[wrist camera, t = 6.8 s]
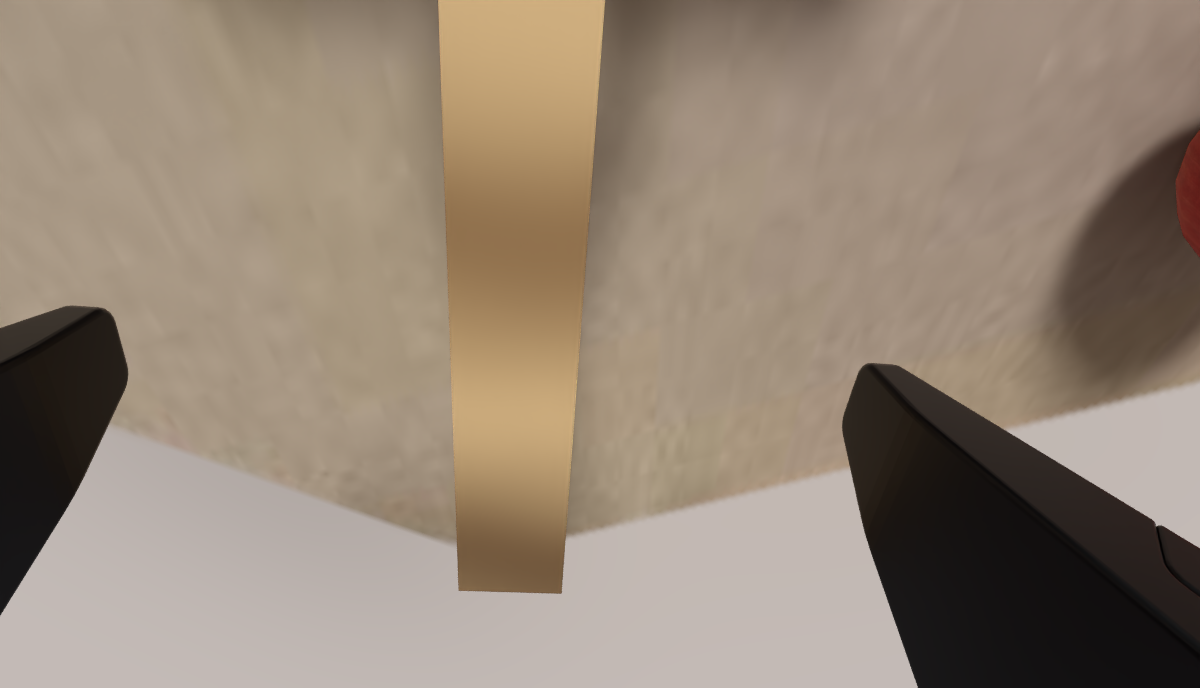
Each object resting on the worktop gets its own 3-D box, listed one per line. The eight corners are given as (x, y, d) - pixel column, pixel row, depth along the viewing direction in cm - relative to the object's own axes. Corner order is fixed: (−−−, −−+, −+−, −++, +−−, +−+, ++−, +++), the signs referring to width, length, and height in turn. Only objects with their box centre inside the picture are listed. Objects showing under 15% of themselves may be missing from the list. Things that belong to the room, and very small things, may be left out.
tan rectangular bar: (562, 519, 17) (561, 594, 15) (470, 516, 16) (458, 590, 15) (620, -320, 9) (631, -361, 7) (453, -336, 9) (425, -382, 7)
